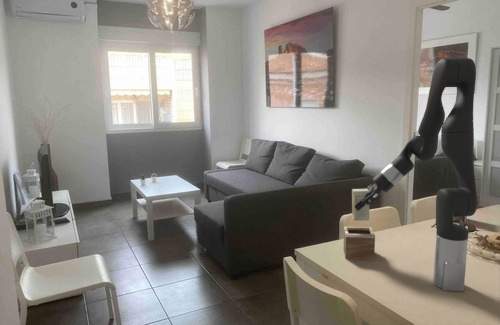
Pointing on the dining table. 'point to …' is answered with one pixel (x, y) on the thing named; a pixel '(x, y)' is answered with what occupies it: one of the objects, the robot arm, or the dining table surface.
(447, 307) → the dining table surface
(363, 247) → the slot box
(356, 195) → the skincare box
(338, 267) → the dining table surface
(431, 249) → the dining table surface
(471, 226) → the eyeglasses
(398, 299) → the dining table surface
